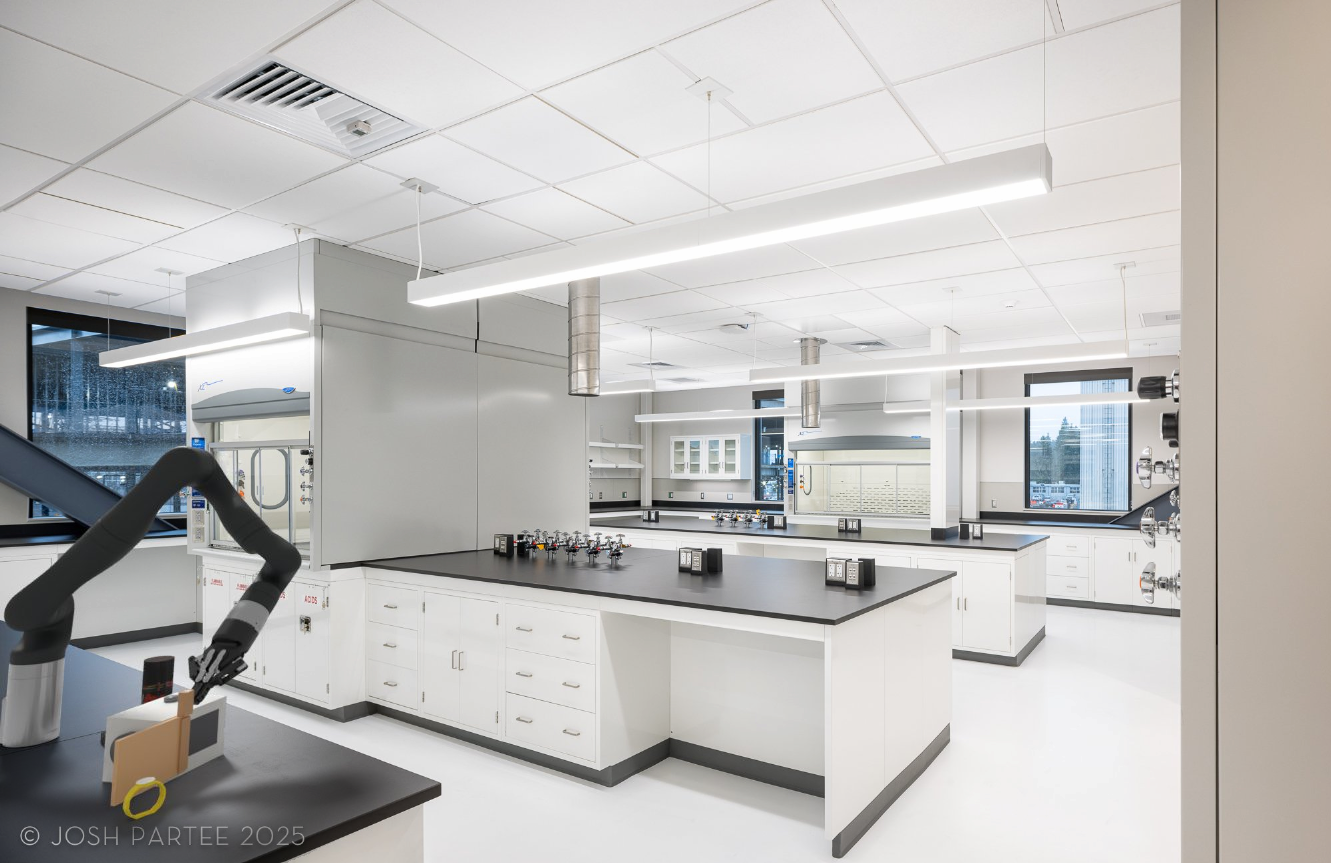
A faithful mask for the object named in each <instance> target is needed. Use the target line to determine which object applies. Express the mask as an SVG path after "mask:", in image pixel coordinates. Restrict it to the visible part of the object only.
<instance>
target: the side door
mask: <svg viewBox="0 0 1331 863" xmlns="http://www.w3.org/2000/svg"><path fill="white" fill-rule="evenodd" d="M193 702H194V690H191V689H185V690H182V691H179V692H178V709H177V717H174V718H172V719H169V720H166V721H164V722H161V723H159V724H156V725H154V726H151V727H149V728H146V729H144V730H141V731H139V732H136V733H134V734H131V735H129V736H126V737H124V738H121V739H118V740H116V741H115V749H114V764H113V778H112V782H111V793H110V794H111V795H110V807H115V806H116V807H117V806H118V805H119V804H122V803H124V799H125V797H126V795H127V794H128V792H129V791H130V789H132V788H133V787H134V786H135V785H136V782H137V781H138V780H140V779H143V778H147V777H154V778H155V780H156V781H159V782H161V783H162V782H164V781H166V780H168V779H170V778H173V777H175V776H177V775H179V774H181V773H183V772H185V771H186V769H187V768H188V752H189V736H190V721H191V716H189V715H190V714H193ZM156 785H157V784H155V783H154V784H153V785H151V786H148V787H144V788H140V789H139V790H138V791H137V792H135V794H134V795H133V797H136V796H137V795H140V794H143V793H144V792H147V791H148V790H150V789H152V788H154V787H155V786H156ZM133 797H132V798H133Z"/></svg>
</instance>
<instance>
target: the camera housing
mask: <svg viewBox="0 0 1331 863" xmlns="http://www.w3.org/2000/svg"><path fill="white" fill-rule="evenodd" d="M178 693H179V692H172V694H171V695H168V696H165V697H162V698H159V699H156V700H154V701H151V702H148V703H145V704H142V705H141V704H140V705H136V706H135V707H131V708H129V709H126V710H123V711H121V712H117V713H115V714H112V715H109V716H107V717H106V726H105V731H106V737H105V745H104V751H103V752H104V754H103V767H102V768H103V769H102V782H103V783H112V778H113V764H114V749H115V741H116V740H118V739H121V738H124V737H126V736H129V735H131V734H134V733H136V732H139V731H141V730H144V729H146V728H149V727H151V726H154V725H156V724H159V723H161V722H164V721H166V720H169V719H172V718H174V717H177V709H178ZM227 698H228V697H227V695H219V694H207V695H206V697H205V698H204V700H203V701H202V702H200V704H199V705H193V714H190V715H189V716H191V721H190V736H189V752H188V768H187V769H186V771H185V772H183V773H181V774H179V775H177V776H175V777H173V778H170V779H168V780H166V781H164V782H162V784H163V785H164V784H166V783H168V782H171V781H173V780H174V779H177V778H178V777H180V776H183V775H185V774H186V773H189V772H190V771H192V770H195V769H196V768H198V767H201V766H202V765H205V764H206V763H208V762H210V761H212V760H215V759H216V758H218V757H220V756H222V755H224V751H225V750H224V749H225V748H224V747H225V734H226V733H225V728H226V717H227V716H226V715H227V713H226V712H227V700H228V699H227ZM154 787H155V788H156V787H157V788H159V786H158V785H156V786H154Z"/></svg>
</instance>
